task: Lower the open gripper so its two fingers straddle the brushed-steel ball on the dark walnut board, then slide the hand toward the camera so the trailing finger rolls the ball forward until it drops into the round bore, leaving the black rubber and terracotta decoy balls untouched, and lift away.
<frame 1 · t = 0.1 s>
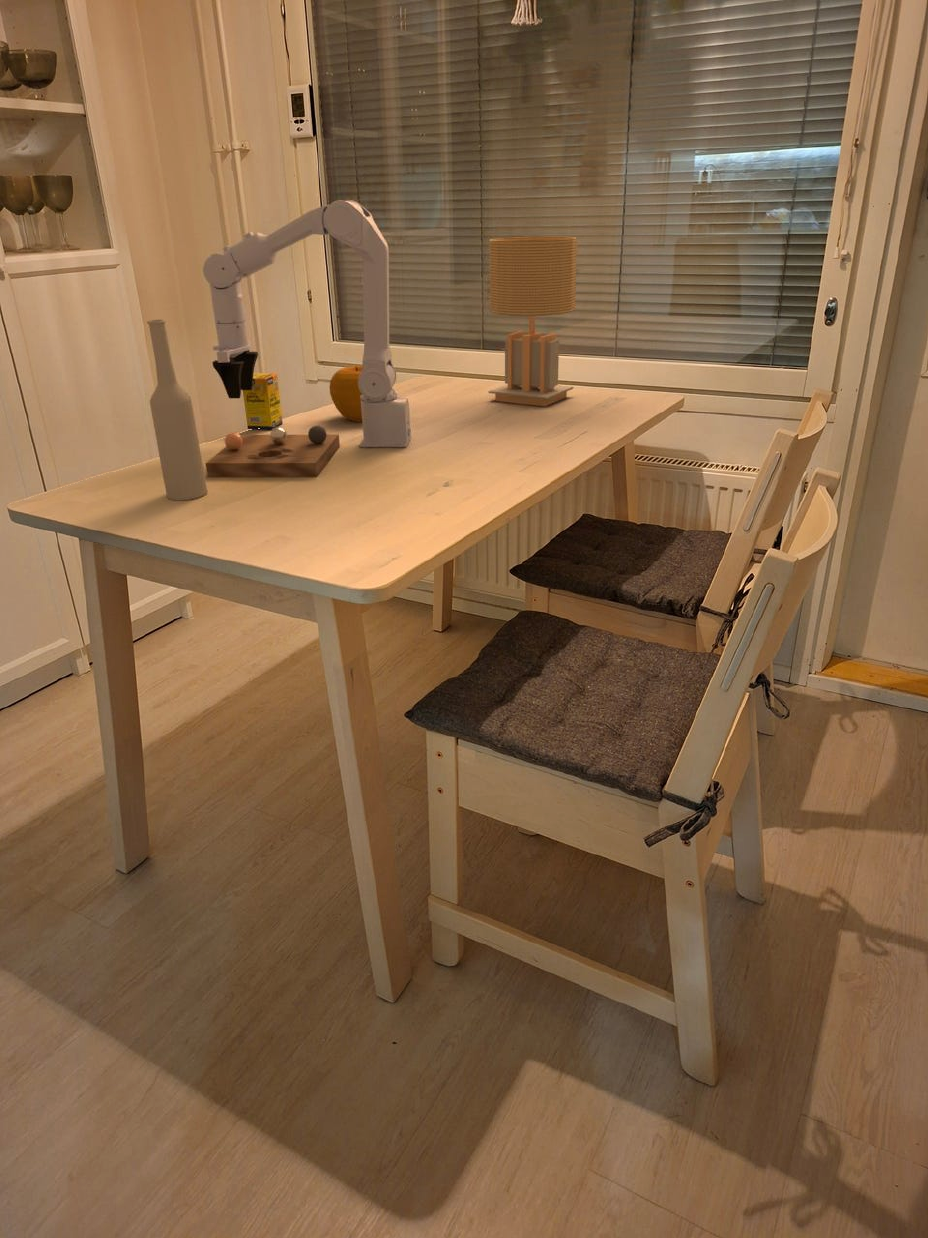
hand: (240, 393, 167), 10 cm above the table, fingers open, 7 cm apart
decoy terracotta: (233, 441, 157), point 4 cm above the table, touching board
desk lamp: (531, 399, 203), on the table
board: (277, 460, 159), on the table
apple: (361, 419, 189), on the table
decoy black: (317, 434, 159), point 4 cm above the table, touching board
steel ball: (278, 435, 160), point 4 cm above the table, touching board
supplement box: (265, 427, 184), on the table
bottle: (187, 495, 142), on the table
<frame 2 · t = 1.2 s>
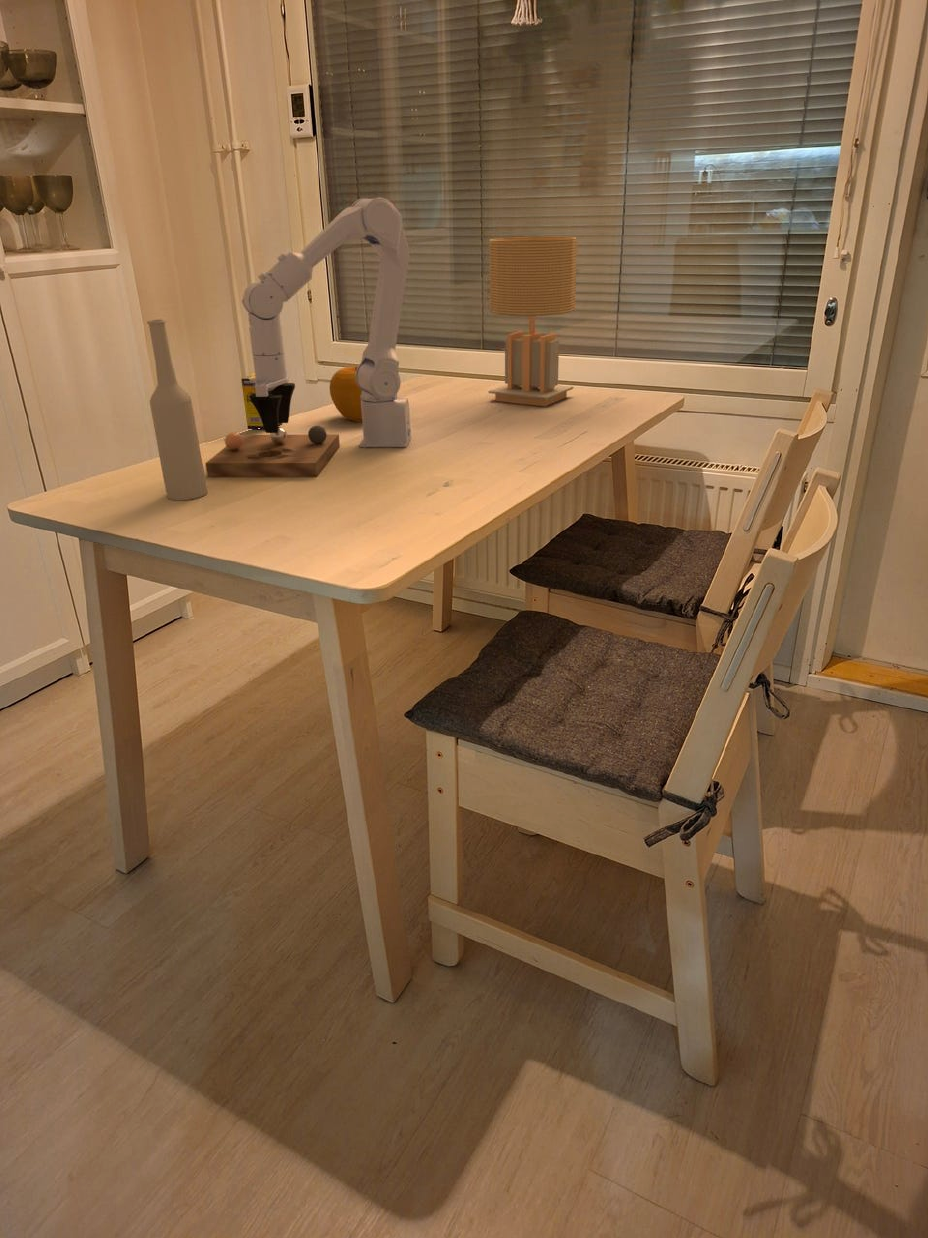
hand: (277, 427, 159), 6 cm above the table, fingers open, 7 cm apart
nothing on the table moved.
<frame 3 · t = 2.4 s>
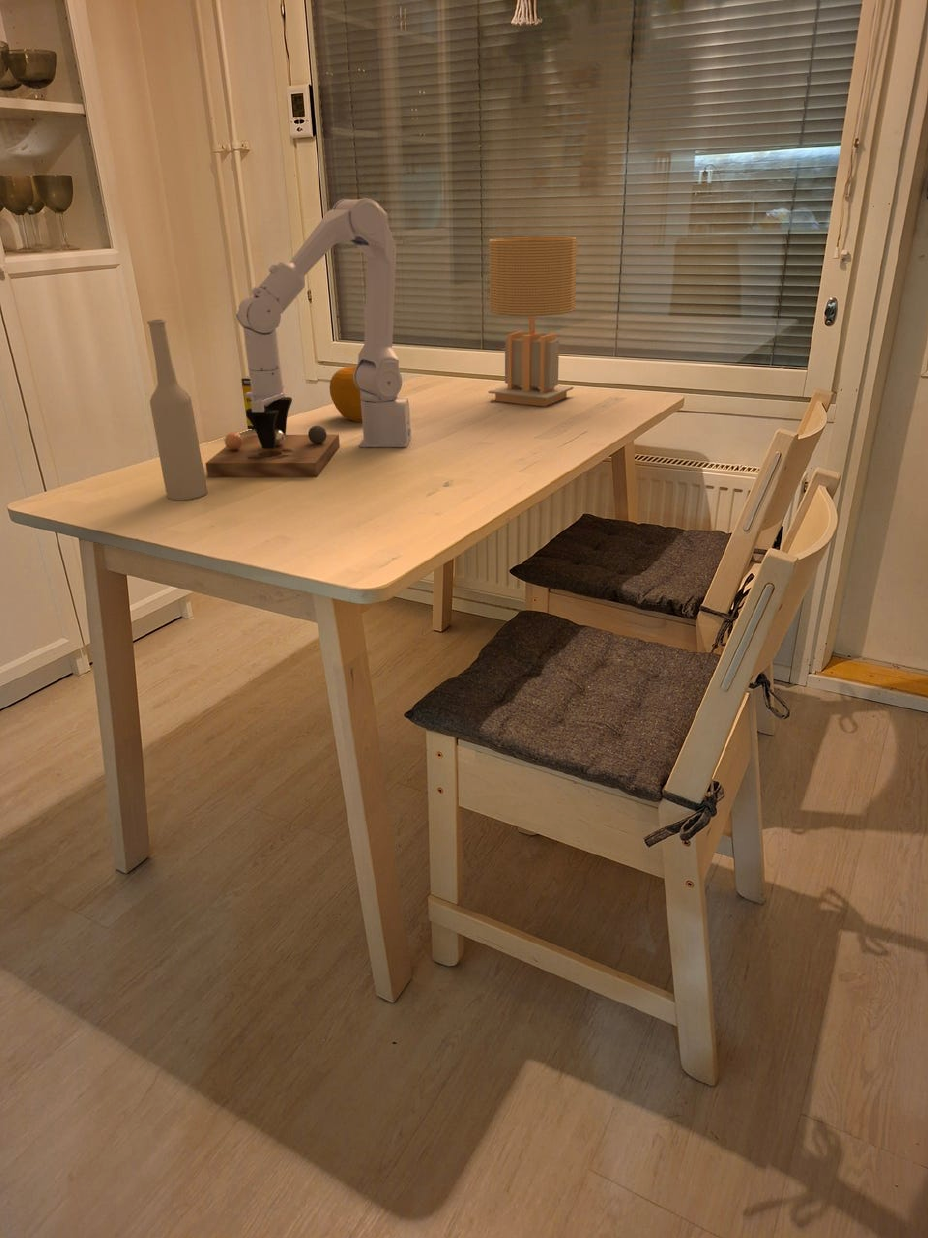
hand: (274, 442, 157), 4 cm above the table, fingers open, 7 cm apart
steel ball: (276, 437, 159), point 4 cm above the table, tilted 51°, touching board
everything else where it was.
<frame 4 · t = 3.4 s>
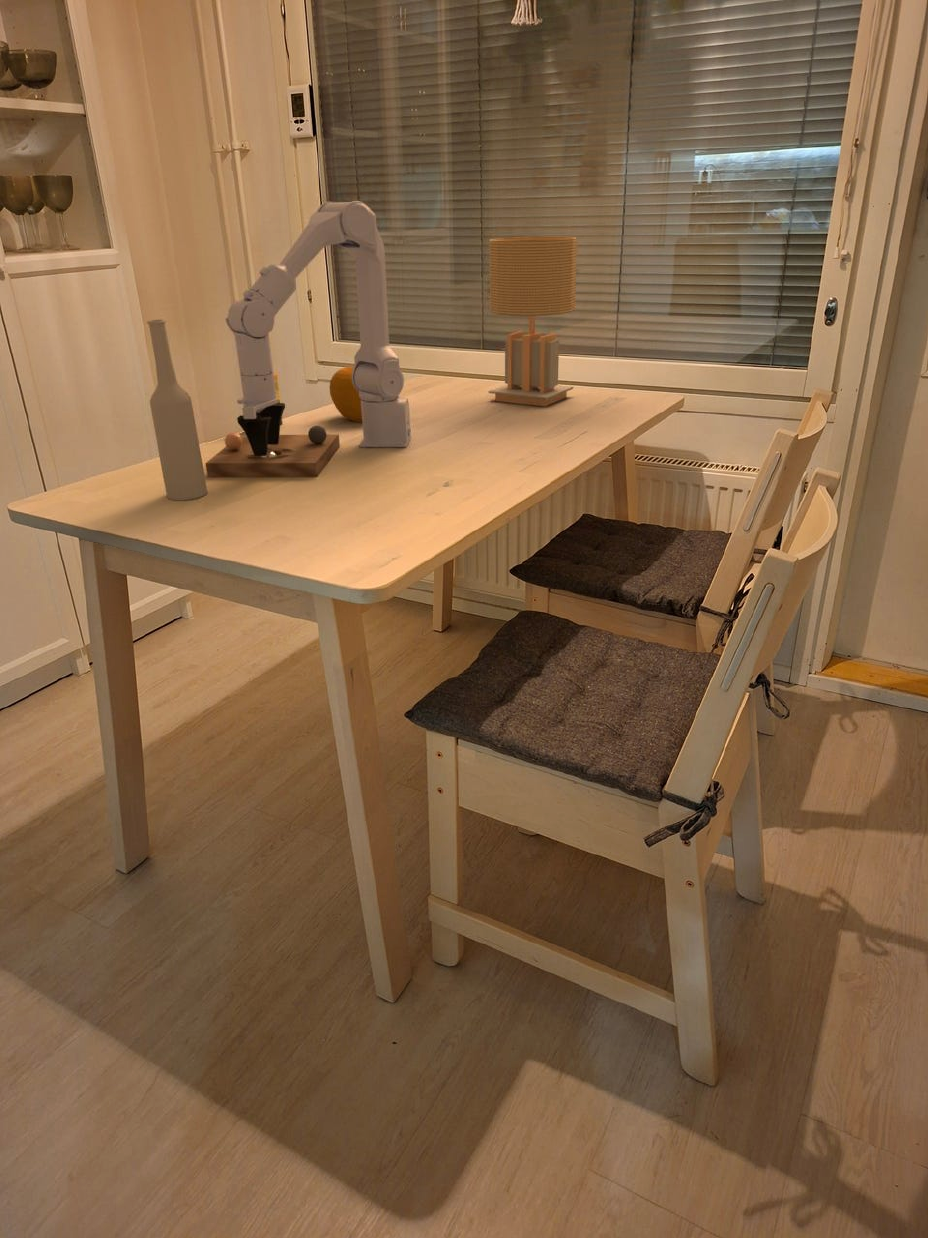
hand: (266, 449, 153), 4 cm above the table, fingers open, 7 cm apart
steel ball: (269, 459, 154), point 2 cm above the table, tilted 53°
everything else where it was.
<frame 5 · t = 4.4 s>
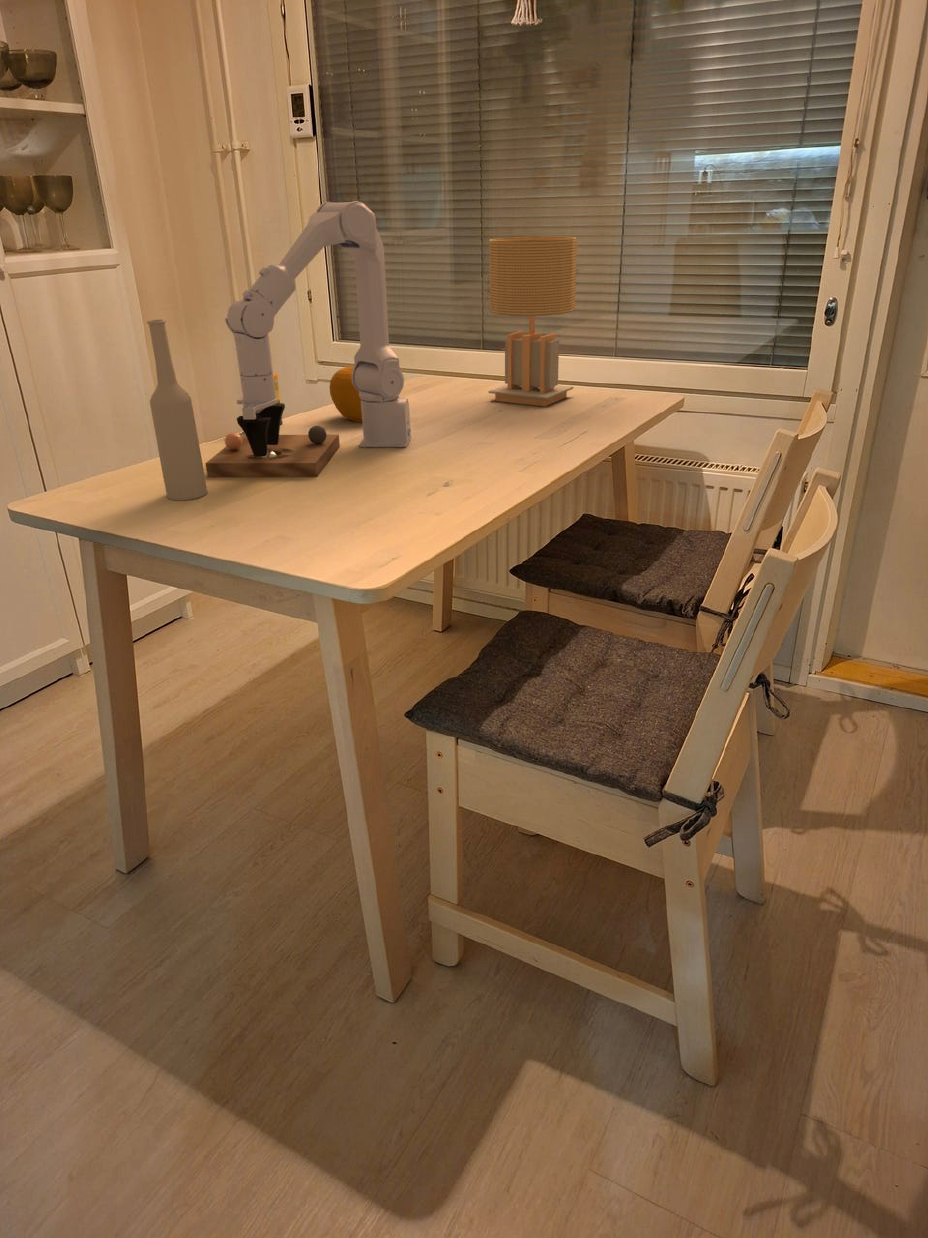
hand: (266, 450, 153), 4 cm above the table, fingers open, 7 cm apart
steel ball: (269, 459, 155), point 2 cm above the table, tilted 58°
everything else where it was.
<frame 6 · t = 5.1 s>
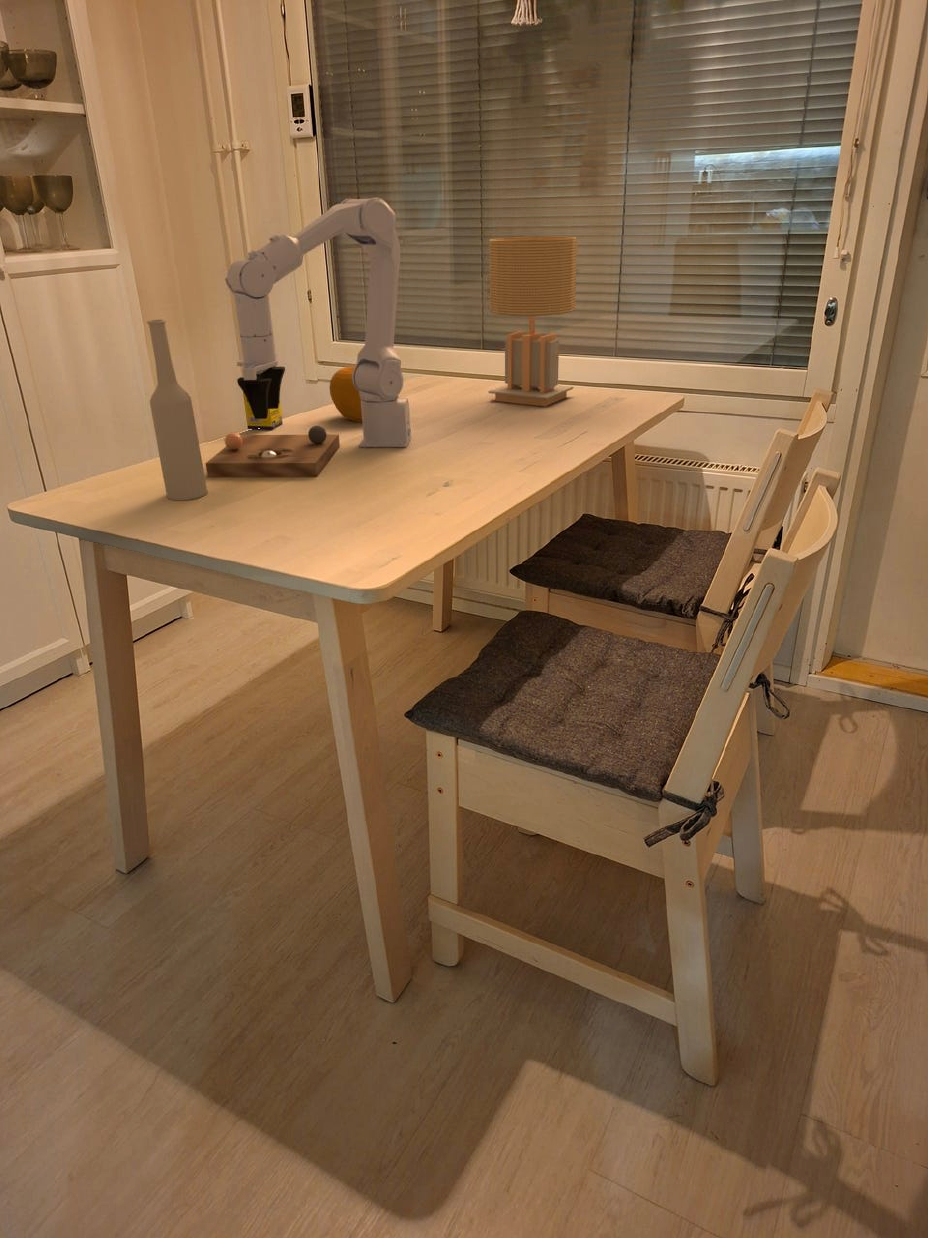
hand: (267, 413, 152), 10 cm above the table, fingers open, 7 cm apart
nothing on the table moved.
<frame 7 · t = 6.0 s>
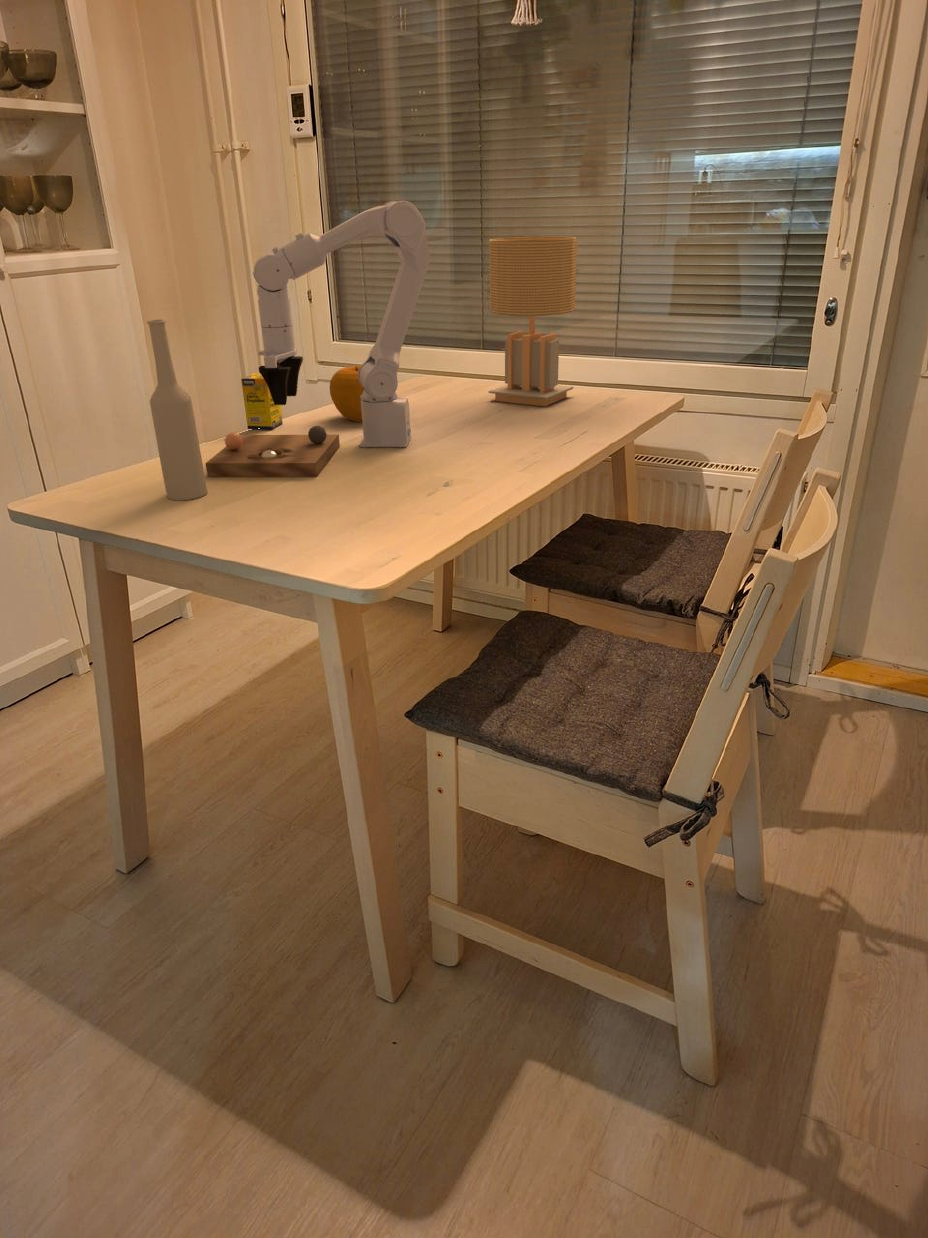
hand: (285, 400, 161), 10 cm above the table, fingers open, 7 cm apart
nothing on the table moved.
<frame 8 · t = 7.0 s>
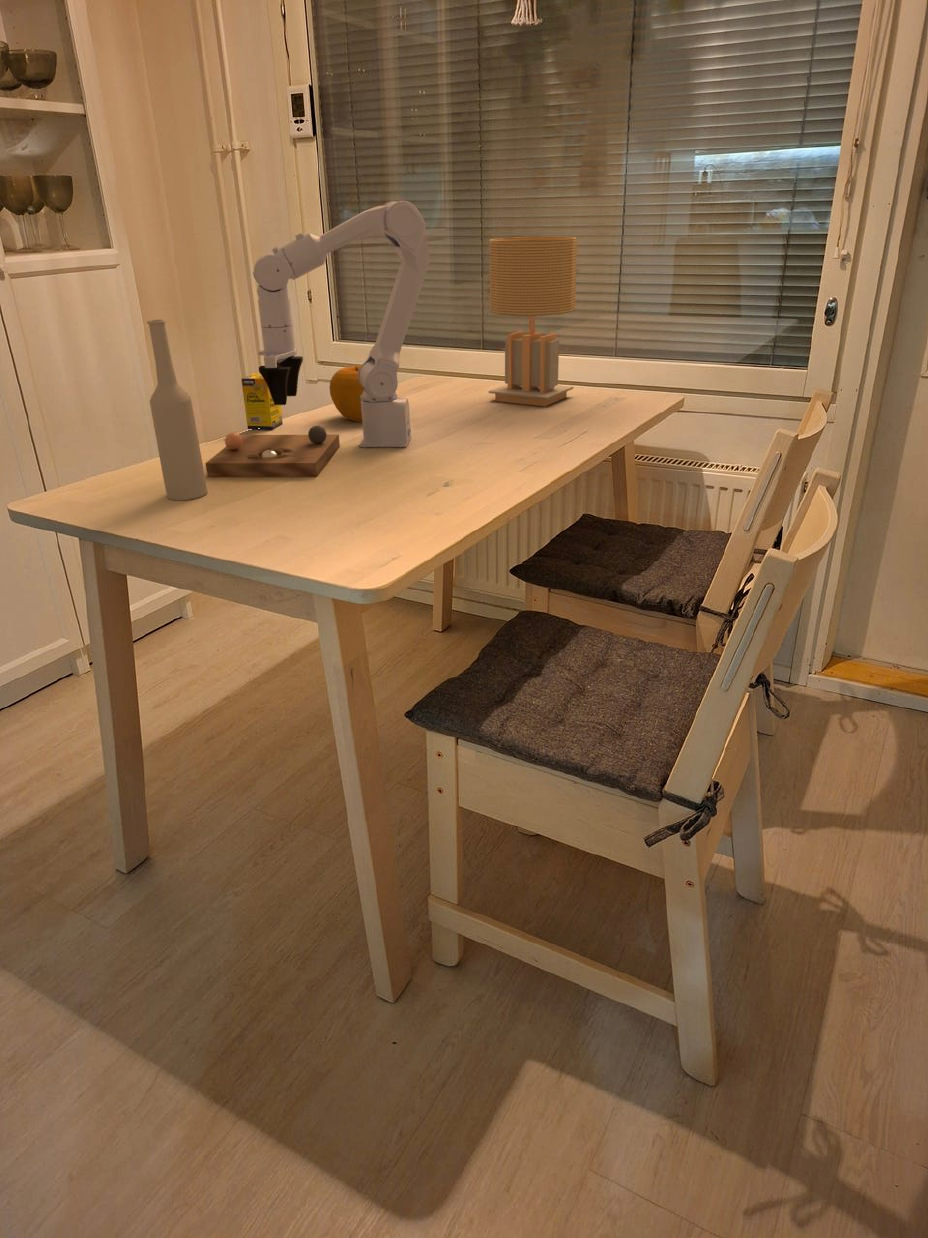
hand: (285, 400, 161), 10 cm above the table, fingers open, 7 cm apart
steel ball: (269, 458, 155), point 2 cm above the table, tilted 71°
everything else where it was.
at the end: steel ball 0.1 cm from the target spot in the board, point 1.6 cm above the board's base; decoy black moved 0.0 cm from its start; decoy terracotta moved 0.0 cm from its start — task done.
